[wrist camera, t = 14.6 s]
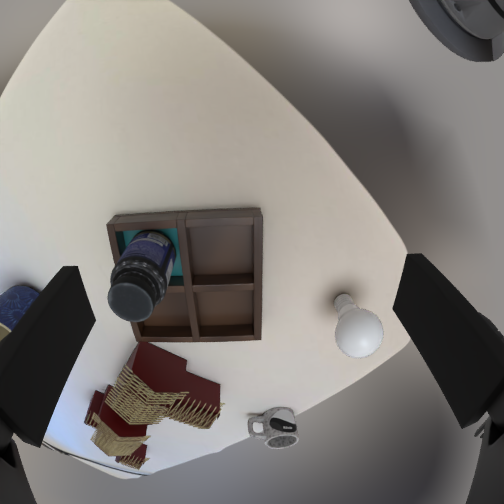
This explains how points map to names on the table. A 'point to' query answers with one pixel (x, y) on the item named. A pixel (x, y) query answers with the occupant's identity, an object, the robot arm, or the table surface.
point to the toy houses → (149, 403)
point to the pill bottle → (141, 276)
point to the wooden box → (202, 274)
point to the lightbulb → (356, 329)
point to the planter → (14, 307)
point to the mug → (276, 428)
